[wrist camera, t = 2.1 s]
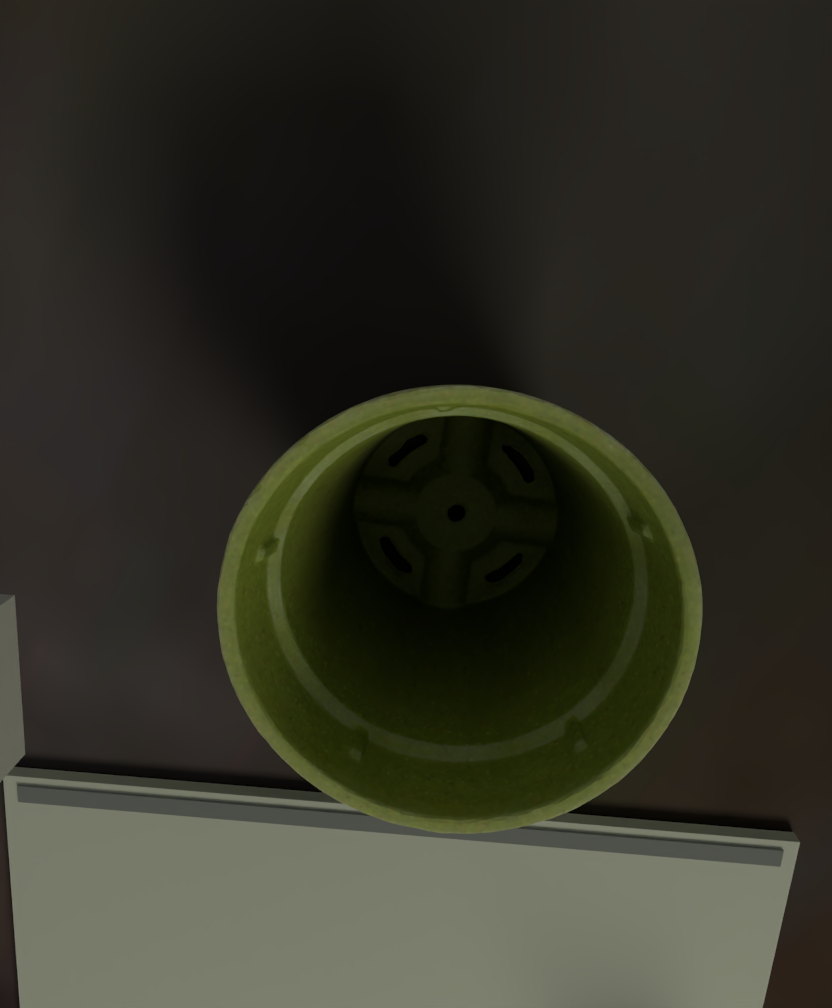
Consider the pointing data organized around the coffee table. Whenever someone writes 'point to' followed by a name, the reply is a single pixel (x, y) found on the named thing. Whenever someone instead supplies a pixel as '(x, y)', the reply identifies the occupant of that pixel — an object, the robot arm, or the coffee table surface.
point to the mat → (374, 904)
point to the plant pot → (459, 610)
